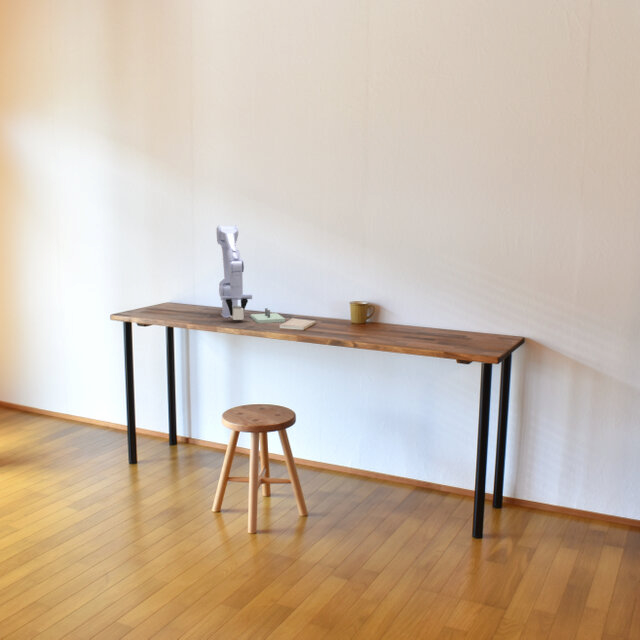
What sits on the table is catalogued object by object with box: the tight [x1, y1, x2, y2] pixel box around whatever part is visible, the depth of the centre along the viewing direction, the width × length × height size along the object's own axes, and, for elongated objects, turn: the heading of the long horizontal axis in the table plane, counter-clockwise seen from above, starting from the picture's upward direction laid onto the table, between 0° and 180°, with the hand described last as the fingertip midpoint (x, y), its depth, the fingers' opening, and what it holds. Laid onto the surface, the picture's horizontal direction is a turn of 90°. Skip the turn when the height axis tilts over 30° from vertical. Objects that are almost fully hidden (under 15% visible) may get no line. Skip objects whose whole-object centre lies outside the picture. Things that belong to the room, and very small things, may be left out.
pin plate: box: [250, 307, 286, 324], centre depth 373 cm, size 16×13×5 cm
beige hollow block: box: [229, 305, 245, 321], centre depth 367 cm, size 9×5×5 cm, turn 17°
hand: (236, 314), depth 367 cm, fingers closed on beige hollow block, 5 cm apart
